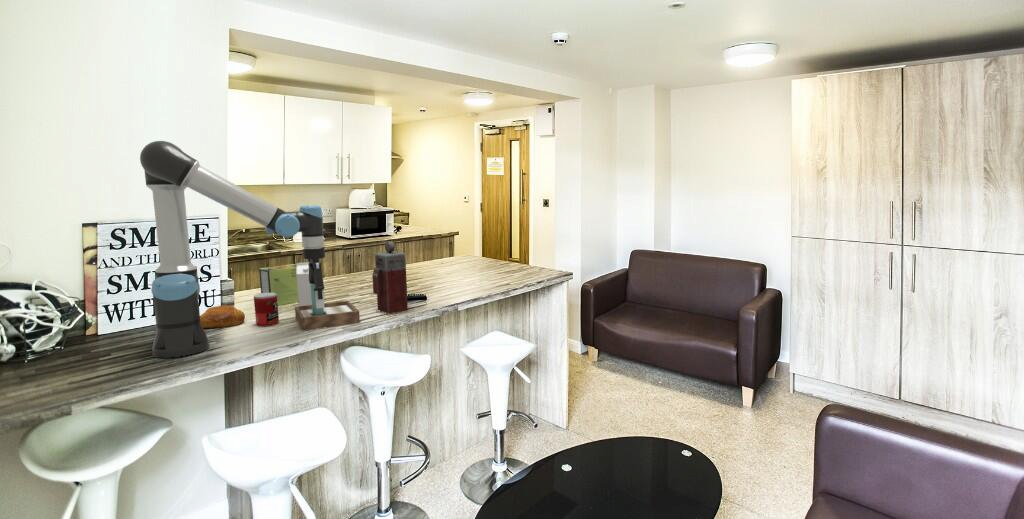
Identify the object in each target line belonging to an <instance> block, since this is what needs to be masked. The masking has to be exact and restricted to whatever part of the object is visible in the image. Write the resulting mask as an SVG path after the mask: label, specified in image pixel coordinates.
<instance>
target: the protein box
mask: <svg viewBox="0 0 1024 519" xmlns="http://www.w3.org/2000/svg"><path fill="white" fill-rule="evenodd" d="M258 272H259V284H260V293H276V294H277V302H278V306H283V304H284V305H288V303H289V304H294V303H293V302H295V303H299V302H298V288H297V274H296V272H297V264H294V263H291V264H282V265H276V266H269V267H261V268H258Z"/></svg>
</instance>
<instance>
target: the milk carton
mask: <svg viewBox="0 0 1024 519" xmlns="http://www.w3.org/2000/svg"><path fill="white" fill-rule="evenodd" d="M308 264H309V261H307V262H297V263H296V265H297V272H296V274H297V288H298V301H299V302H298V306H306V305H312V301H311V294H310V283H309V282H310V281H309V265H308Z"/></svg>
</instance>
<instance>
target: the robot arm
mask: <svg viewBox="0 0 1024 519" xmlns="http://www.w3.org/2000/svg"><path fill="white" fill-rule="evenodd" d="M139 160H140V165H141V167H142V168H143V170H144V178H145V186H146V187H147V188H148V189H150V190H151V191H152V199H153V207H154V217H155V228H156V235H157V236H156V238H157V247H158V257H159V264H160V265H159V266H158V267H157V268H156V269H155V270H154V271H155V272H154V273H155V279H154V280H153V281H152V283H151V290H150V292H151V294H152V298H153V305H154V306H153V308H154V315H155V316H154V317H155V324H156V333H155V335H154V339H153V343H152V347H151V351H152V356H153V355H154V356H157V357H156V358H158V357H168V358H167V359H173V358H172V357H175V358H181V357H180V356H183V357H187V356H186V355H188V356H191V355H190V354H192V355H195V353H196V354H199V353H202V352H204V351H206V350H208V349H209V348H210V340H209V338H208V336H207V334H206V331H205V328H203V327H202V325H201V322H200V316H201V314H200V304H199V296H200V293H201V286H200V283H199V276H198V267H197V266H195V264H193V263H192V260H191V258H192V257H191V249H190V248H191V247H190V238H189V228H188V221H187V220H188V218H187V209H186V197H185V190H186V189H191V190H192V191H194V192H196V193H198V194H200V195H202V196H204V197H205V198H208V199H210V200H211V201H214V202H216V203H218V204H220V205H222V206H224V207H226V208H228V209H230V210H232V211H233V212H236V213H237V214H240V215H242V216H243V217H245V218H247V219H250V220H252V222H253V221H254V222H255V223H257V224H259V225H261V226H263V227H264V231H265V233H266V234H268V235H271V234H272V235H277V234H278V235H279V236H281V237H283V238H291V237H293V236H296V235H297V234H298V233H301V245H302V247H303V249H302V255H303V256H302V257H303V260H308V261H307V262H309V264H308V265H309V281H310V282H309V283H310V294H311V285H313V284H315V289H314V291H315V295H316V308H325V307H324V303H325V294H324V289H325V285H324V284H325V283H324V276H323V270H322V262H320V259H324V258H326V249H325V241H326V240H327V239H326V238H325V237H324V220H323V219H324V217H323V211H322V207H321V206H320V205H318V204H317V205H315V204H313V205H307V204H306V205H301V206H299V210H298V211H285V210H284V209H281V208H279V207H278V206H276V205H274V204H272V203H271V202H268V201H266V200H265V199H263V198H261V197H259V196H257V195H255V194H254V193H252V192H250V191H248V190H246V189H244V188H243V187H241V186H239V185H237V184H235V183H233V182H231V180H227V179H225V178H224V177H222V176H220V175H218V174H217V173H214V172H213V171H211V170H209V169H207V168H205V167H203V166H202V165H201V164H200V162H199V160H197V159H195V158H194V157H192V156H191V155H188V154H187V153H186V152H185V151H183V150H182V149H181V148H180V147H179V146H177V145H176V144H174V143H172V142H169V141H166V140H156V141H152V142H149V143H148V144H146V145H145V146H144V147H143V148H142V150H141V152H140V156H139ZM311 301H312V298H311ZM198 352H199V353H198ZM154 356H153V357H154ZM170 357H171V358H170Z"/></svg>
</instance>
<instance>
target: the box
mask: <svg viewBox="0 0 1024 519" xmlns="http://www.w3.org/2000/svg"><path fill="white" fill-rule="evenodd" d="M324 307H325V308H324V315H318V316H313V312H312V305H306V306H299V305H297V306H294V313H295V314H294V315H295V316H294V317H295V320H296V321H298V322H297V323H298V325H299V327H300V329H301V331H302V330H304V331H310V330H309V329H312V330H317V329H316V328H319V329H325V328H324V327H326V328H332V327H338V326H339V327H340V326H346V325H354V324H360V323H361V320H360V318H361V316H360V310H359V309H358V308H356V306H354V305H353V304H352V302H350V301H349V300H342V301H341V300H340V301H334V302H324Z"/></svg>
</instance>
